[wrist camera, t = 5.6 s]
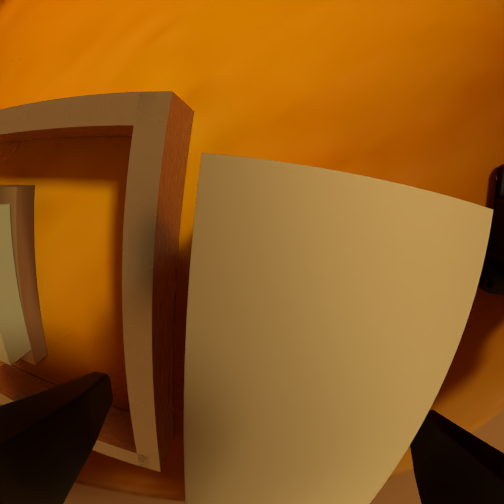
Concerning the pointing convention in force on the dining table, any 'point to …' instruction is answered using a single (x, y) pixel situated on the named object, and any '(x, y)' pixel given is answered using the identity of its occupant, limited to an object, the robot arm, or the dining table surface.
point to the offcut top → (10, 298)
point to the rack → (128, 253)
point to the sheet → (317, 327)
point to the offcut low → (25, 264)
